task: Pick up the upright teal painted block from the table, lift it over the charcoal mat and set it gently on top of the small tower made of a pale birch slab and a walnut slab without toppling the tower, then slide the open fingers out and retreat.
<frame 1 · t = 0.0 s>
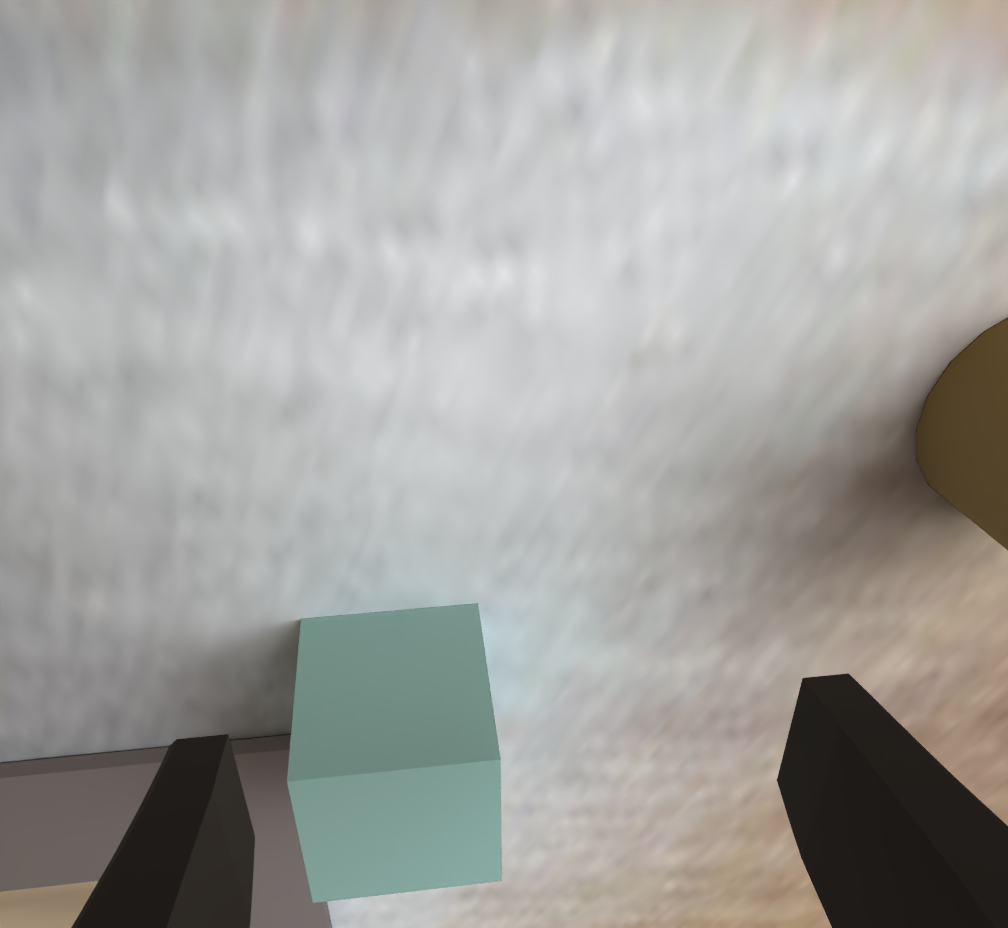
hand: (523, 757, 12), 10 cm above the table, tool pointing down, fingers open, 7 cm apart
teal block: (396, 670, 25), on the table
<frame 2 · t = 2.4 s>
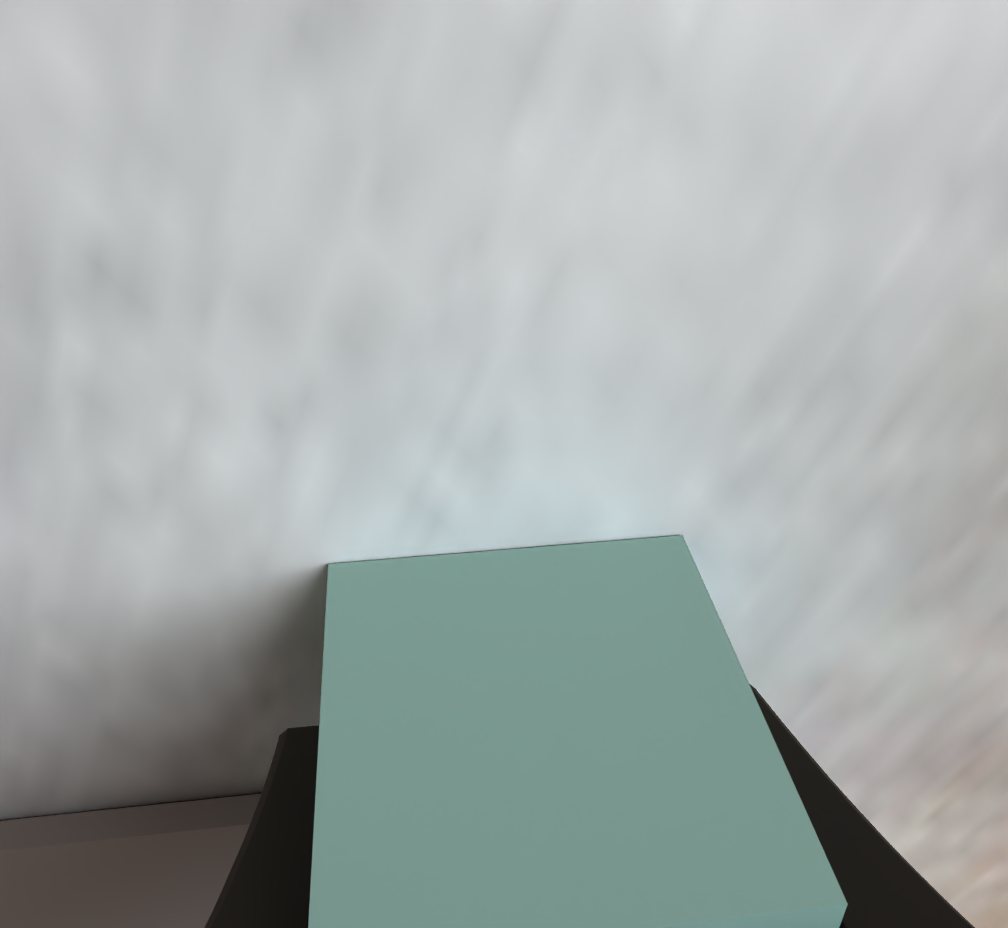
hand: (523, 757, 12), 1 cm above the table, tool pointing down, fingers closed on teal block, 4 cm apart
teal block: (509, 674, 13), on the table, touching gripper
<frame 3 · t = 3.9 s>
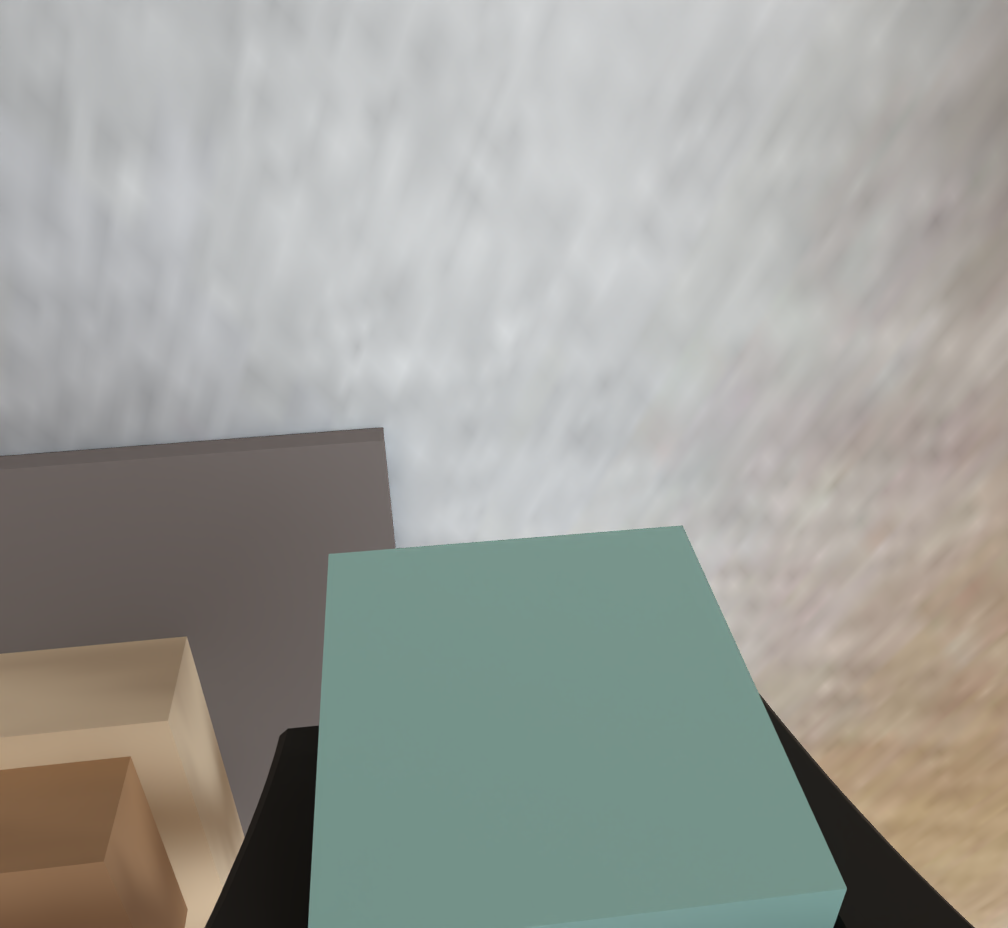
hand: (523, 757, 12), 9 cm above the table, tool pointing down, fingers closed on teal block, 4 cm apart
charcoal mat: (63, 748, 24), on the table
birch slab: (58, 764, 24), resting on charcoal mat, touching walnut slab
walnut slab: (28, 853, 22), point 3 cm above the table, touching birch slab
teal block: (509, 665, 13), point 8 cm above the table, touching gripper
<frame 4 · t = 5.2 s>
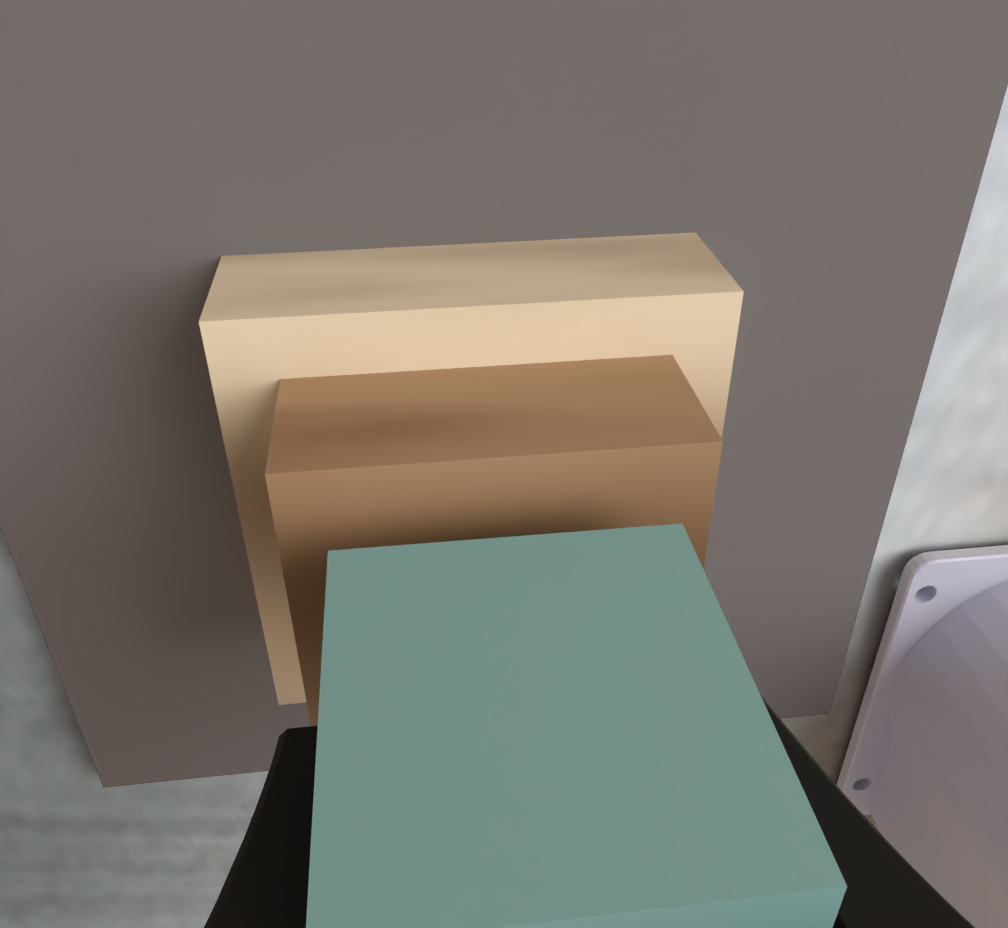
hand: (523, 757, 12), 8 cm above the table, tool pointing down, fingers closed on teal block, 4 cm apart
charcoal mat: (468, 429, 18), on the table
birch slab: (470, 443, 18), resting on charcoal mat, touching walnut slab
walnut slab: (483, 522, 16), point 3 cm above the table, touching birch slab
teal block: (508, 663, 13), point 6 cm above the table, touching gripper
when the fingers open (8 cm above the table, at t = 5.9 s): teal block stays where it is, resting on walnut slab.
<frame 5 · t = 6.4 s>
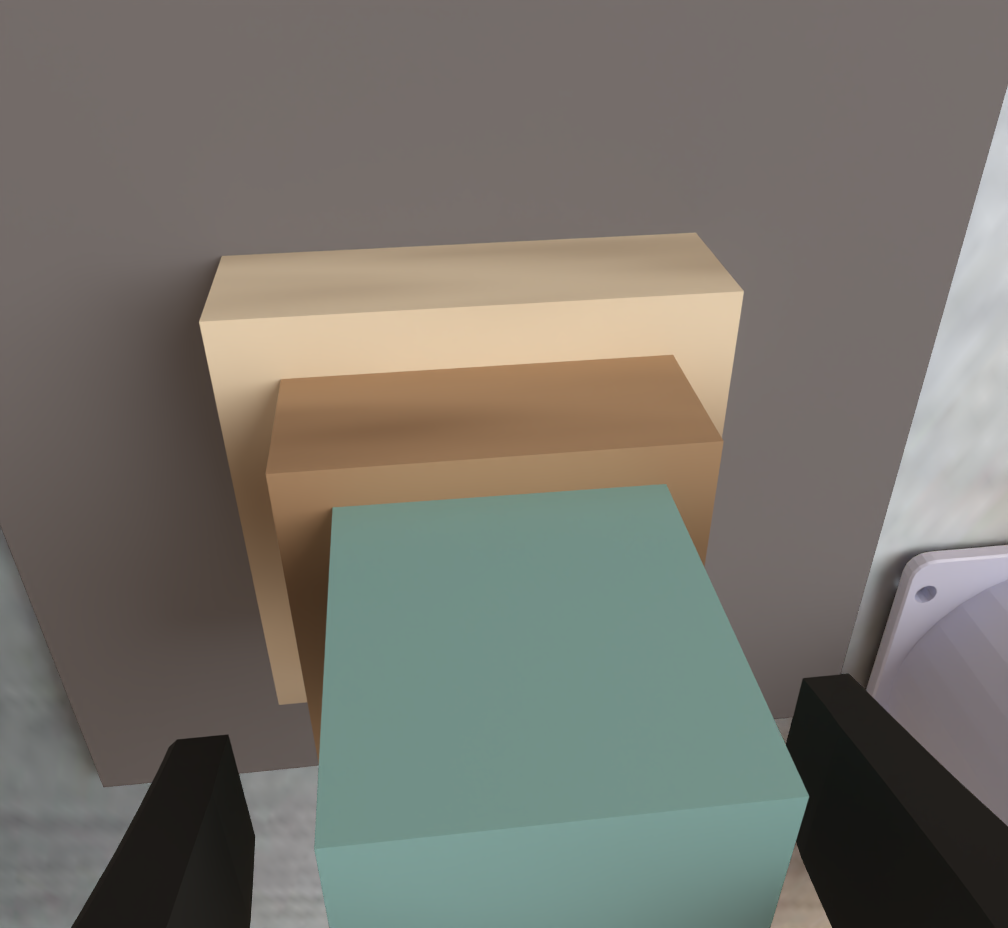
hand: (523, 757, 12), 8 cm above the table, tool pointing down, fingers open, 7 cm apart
charcoal mat: (468, 429, 18), on the table
birch slab: (470, 443, 18), resting on charcoal mat, touching walnut slab
walnut slab: (484, 522, 16), point 3 cm above the table, touching birch slab, teal block
teal block: (502, 618, 14), point 5 cm above the table, touching walnut slab
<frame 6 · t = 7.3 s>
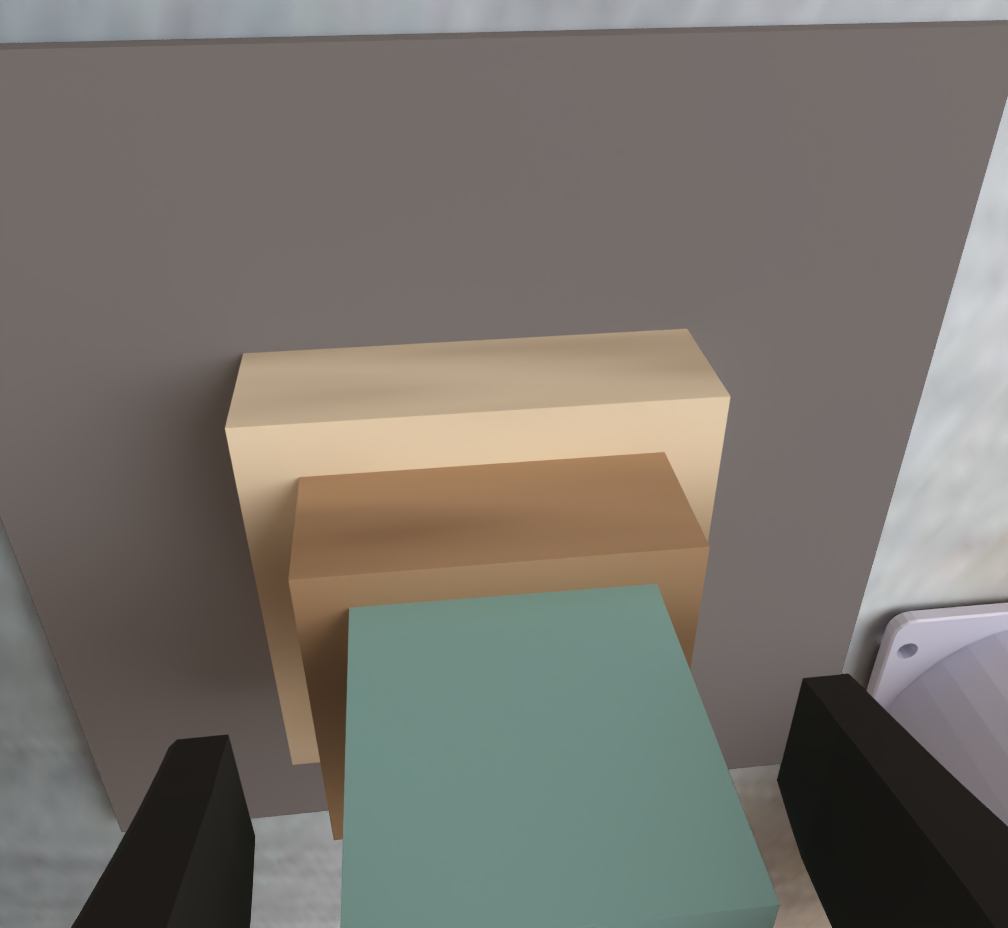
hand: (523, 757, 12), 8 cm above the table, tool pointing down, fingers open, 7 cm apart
charcoal mat: (472, 503, 19), on the table
birch slab: (474, 517, 19), resting on charcoal mat, touching walnut slab
walnut slab: (487, 600, 17), point 3 cm above the table, touching birch slab, teal block
teal block: (504, 701, 15), point 5 cm above the table, touching walnut slab
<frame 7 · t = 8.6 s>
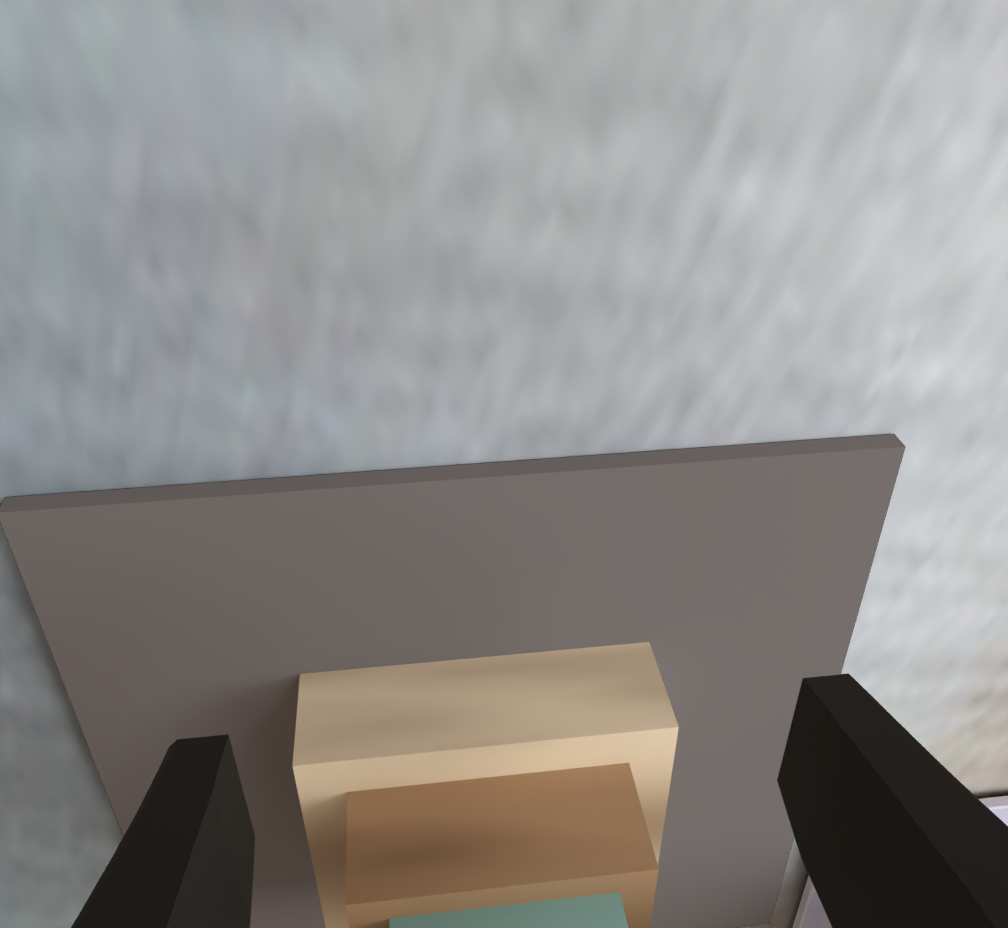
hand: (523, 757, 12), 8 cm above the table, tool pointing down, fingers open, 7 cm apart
charcoal mat: (479, 754, 24), on the table
birch slab: (481, 770, 23), resting on charcoal mat, touching walnut slab
walnut slab: (492, 860, 21), point 3 cm above the table, touching birch slab, teal block
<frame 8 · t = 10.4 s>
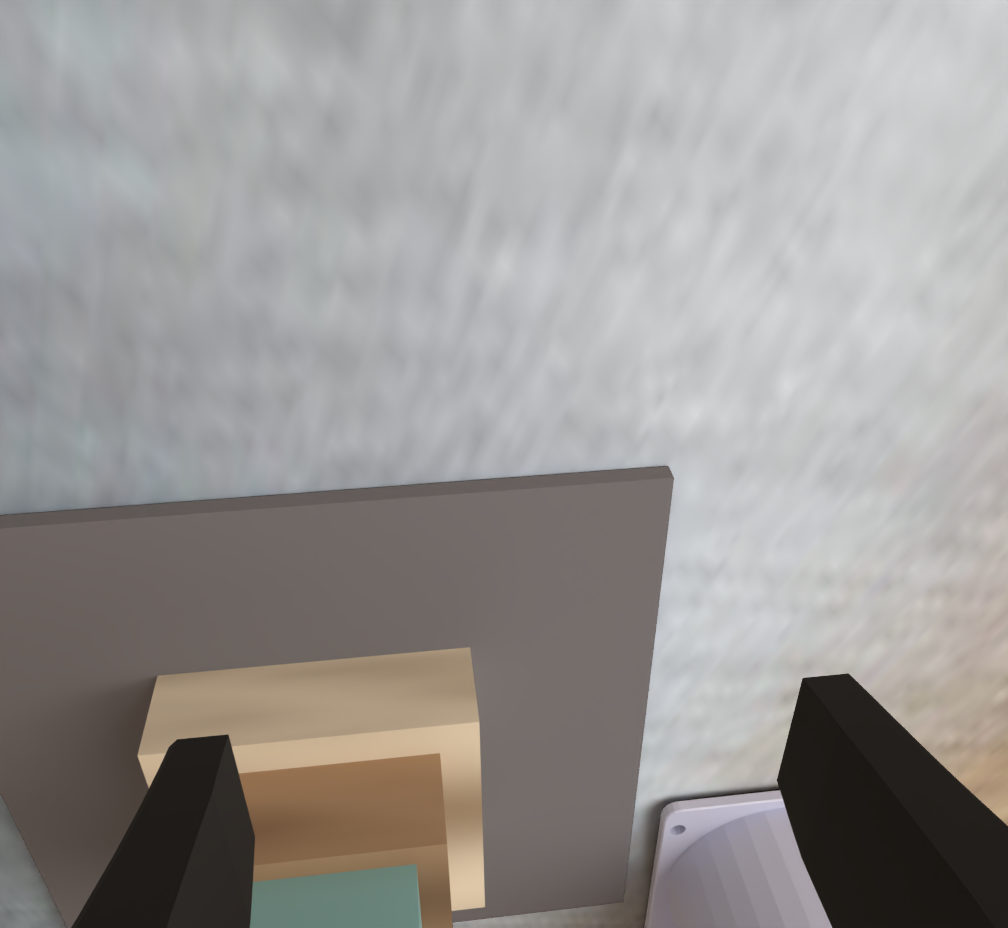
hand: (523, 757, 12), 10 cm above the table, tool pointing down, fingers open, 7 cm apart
charcoal mat: (333, 746, 27), on the table
birch slab: (333, 761, 26), resting on charcoal mat, touching walnut slab
walnut slab: (330, 839, 24), point 3 cm above the table, touching birch slab, teal block
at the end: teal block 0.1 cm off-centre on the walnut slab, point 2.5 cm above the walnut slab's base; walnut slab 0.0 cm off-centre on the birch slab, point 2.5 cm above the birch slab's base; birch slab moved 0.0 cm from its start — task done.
